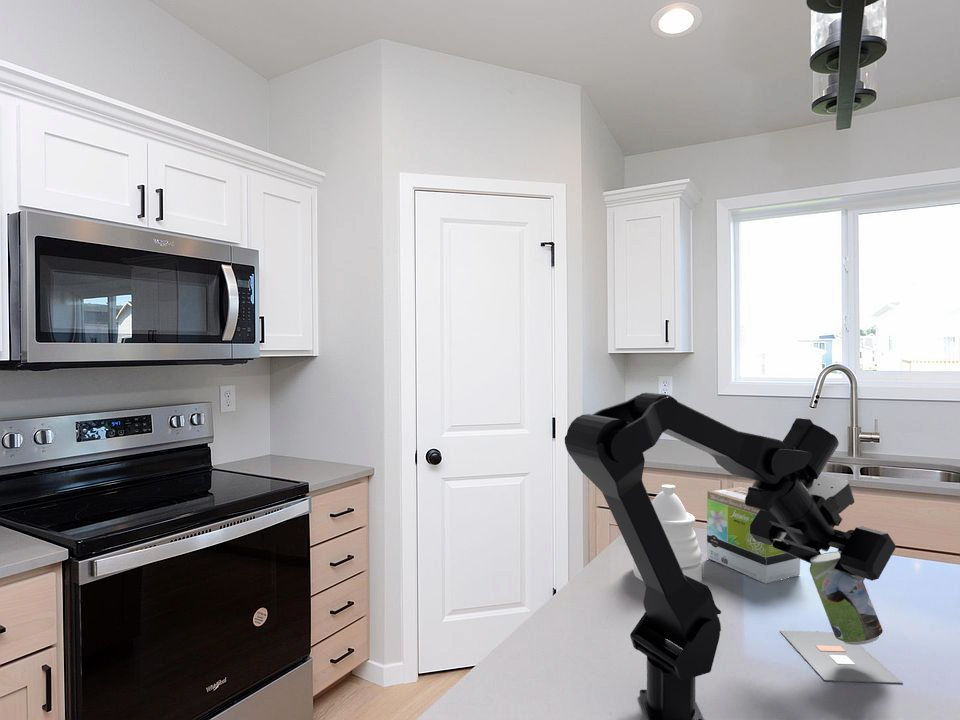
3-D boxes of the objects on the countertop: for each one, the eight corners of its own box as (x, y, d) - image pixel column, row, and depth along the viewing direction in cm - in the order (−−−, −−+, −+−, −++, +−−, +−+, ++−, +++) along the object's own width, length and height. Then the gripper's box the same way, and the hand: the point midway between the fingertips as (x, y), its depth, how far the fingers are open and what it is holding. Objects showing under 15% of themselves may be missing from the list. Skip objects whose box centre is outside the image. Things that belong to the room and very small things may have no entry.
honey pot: (708, 589, 110) (708, 492, 110) (636, 585, 112) (636, 490, 112) (695, 565, 123) (695, 477, 123) (630, 561, 125) (630, 475, 125)
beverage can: (892, 648, 80) (871, 555, 82) (831, 650, 82) (812, 560, 84) (876, 632, 86) (857, 546, 88) (820, 635, 88) (802, 551, 90)
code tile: (902, 683, 79) (902, 681, 79) (824, 680, 80) (824, 679, 80) (846, 633, 93) (846, 632, 93) (779, 631, 94) (779, 630, 94)
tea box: (704, 559, 126) (705, 489, 126) (739, 552, 130) (739, 485, 130) (765, 585, 112) (766, 506, 112) (802, 576, 117) (802, 501, 116)
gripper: (888, 472, 76) (937, 547, 81) (763, 449, 93) (810, 513, 98) (846, 542, 73) (901, 615, 78) (725, 505, 90) (776, 568, 95)
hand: (842, 572), depth 87 cm, fingers closed on beverage can, 6 cm apart
